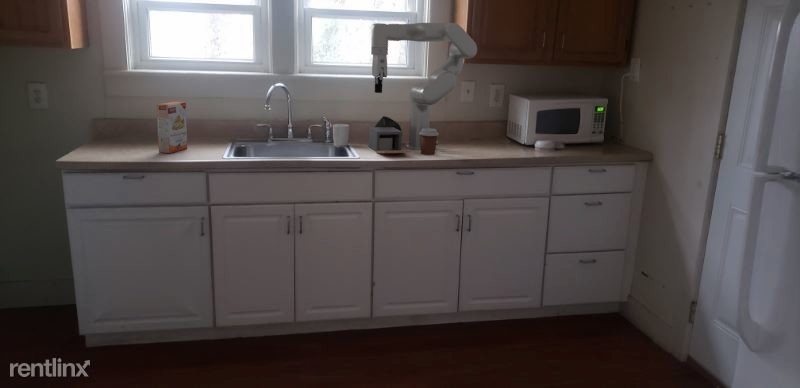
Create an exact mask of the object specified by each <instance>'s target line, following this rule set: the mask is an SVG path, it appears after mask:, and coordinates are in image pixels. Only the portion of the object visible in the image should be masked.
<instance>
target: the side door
mask: <svg viewBox="0 0 800 388" xmlns="http://www.w3.org/2000/svg"><path fill="white" fill-rule="evenodd" d="M412 151H413V150H412V149H407V150H405V149H403V150H402V149H401V150H395V149H392V150H379V151H377V153H376V154H405V153H407V154H408V153H409V154H412Z"/></svg>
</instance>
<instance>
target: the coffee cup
mask: <svg viewBox="0 0 800 388" xmlns="http://www.w3.org/2000/svg"><path fill="white" fill-rule="evenodd" d="M439 134H440V133H439V132H438V129H436V128H430V127H429V128H423V129H421V132H419V135H420V139H421V150H420V154H421V155H422V156H423V155H424V156H435V154H436V148H437V145H436V142H437V141H438V137H439Z"/></svg>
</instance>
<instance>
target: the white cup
mask: <svg viewBox="0 0 800 388" xmlns="http://www.w3.org/2000/svg"><path fill="white" fill-rule="evenodd" d="M332 135H333V136H332V138H333V139H332V140H333V146H334V147H344V146H346V147H348V146H349V135H350V125H349V124H346V123H345V124H344V123H335V124H332Z"/></svg>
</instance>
